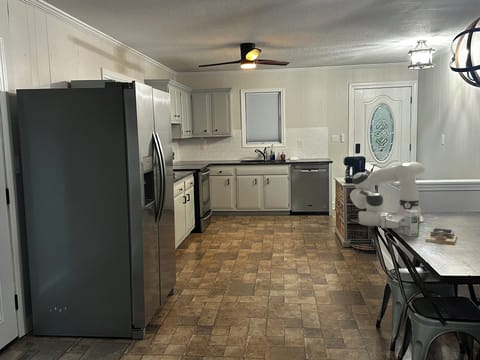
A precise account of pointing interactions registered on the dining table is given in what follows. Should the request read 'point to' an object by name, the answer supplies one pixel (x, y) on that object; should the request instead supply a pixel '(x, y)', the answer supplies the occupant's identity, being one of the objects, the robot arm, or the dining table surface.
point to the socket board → (449, 240)
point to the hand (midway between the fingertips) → (409, 222)
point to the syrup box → (412, 223)
